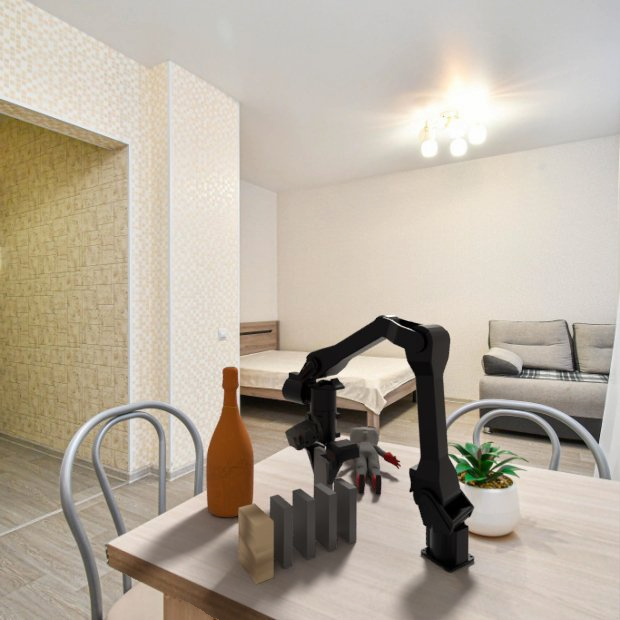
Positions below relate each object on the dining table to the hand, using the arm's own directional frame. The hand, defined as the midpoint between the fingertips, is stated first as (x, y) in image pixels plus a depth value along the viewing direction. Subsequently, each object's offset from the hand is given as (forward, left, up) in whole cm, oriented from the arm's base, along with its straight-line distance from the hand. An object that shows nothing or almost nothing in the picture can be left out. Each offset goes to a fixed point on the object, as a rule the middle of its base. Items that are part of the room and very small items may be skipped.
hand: (323, 479), depth 92 cm
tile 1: (0, 0, -4) cm, 4 cm away
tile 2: (-13, +4, -5) cm, 15 cm away
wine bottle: (+8, +18, -5) cm, 21 cm away
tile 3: (-13, +9, -5) cm, 16 cm away
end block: (-13, +22, -5) cm, 26 cm away
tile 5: (-13, +18, -5) cm, 22 cm away
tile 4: (-13, +13, -5) cm, 19 cm away
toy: (+10, -21, -6) cm, 23 cm away
